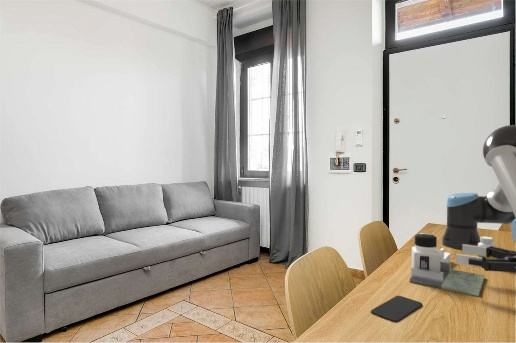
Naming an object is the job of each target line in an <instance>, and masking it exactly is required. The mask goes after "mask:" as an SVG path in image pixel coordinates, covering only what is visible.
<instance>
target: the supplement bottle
mask: <svg viewBox="0 0 516 343" xmlns="http://www.w3.org/2000/svg"><path fill="white" fill-rule="evenodd" d="M480 241H481V242H480V243H478V246H480V247H486V248H487V247H490V246H493V247H496V245H495V244H494V238H493V237H490V236H480ZM477 257H482V256H481V255H477ZM483 257H485V258H486V259H496V258H494V257H491V256H490V257H488V258H487V254H486V256H483Z"/></svg>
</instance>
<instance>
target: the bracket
mask: <svg viewBox="0 0 516 343" xmlns="http://www.w3.org/2000/svg"><path fill="white" fill-rule="evenodd" d="M437 251H438V252H439V253H440V255H441V256H440V261H446V262H450V261H451V257H452V256H451V253H450V252H447V251H446V252H445V248H443V247H442V248H440V249H439V250H437Z"/></svg>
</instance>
